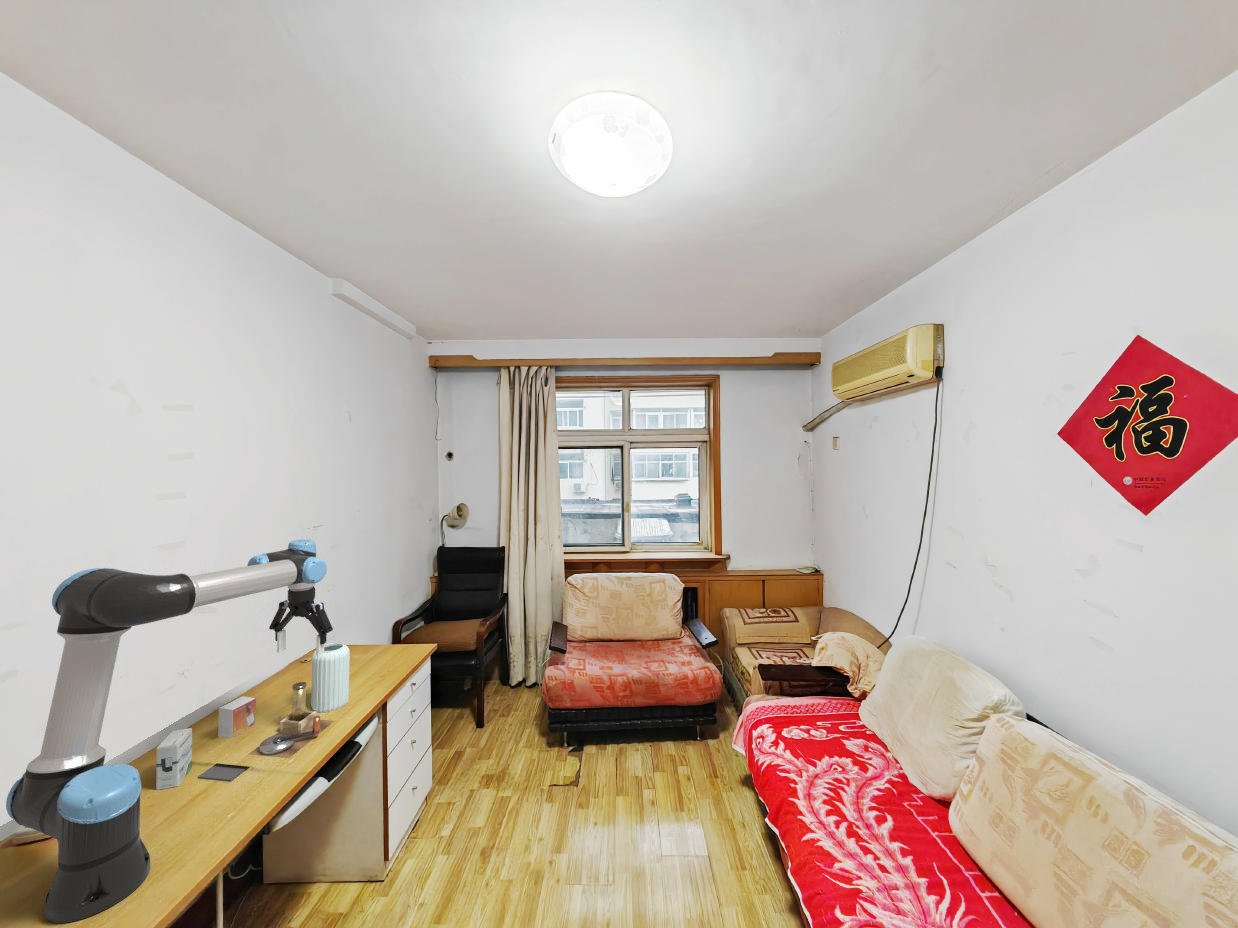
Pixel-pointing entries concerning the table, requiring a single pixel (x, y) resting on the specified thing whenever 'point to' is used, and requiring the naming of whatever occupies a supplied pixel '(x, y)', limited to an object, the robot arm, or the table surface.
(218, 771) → the mat
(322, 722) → the mount board
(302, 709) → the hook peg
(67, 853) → the robot arm
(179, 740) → the ink box
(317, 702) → the vase
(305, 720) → the square socket
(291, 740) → the handwheel
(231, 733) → the small box
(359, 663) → the table surface
